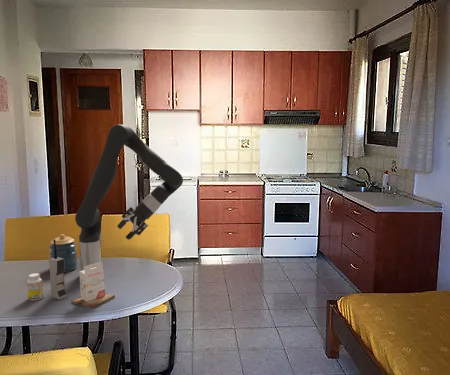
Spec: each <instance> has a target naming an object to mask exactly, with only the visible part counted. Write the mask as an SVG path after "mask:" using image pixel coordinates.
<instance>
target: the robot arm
mask: <svg viewBox="0 0 450 375" xmlns="http://www.w3.org/2000/svg"><path fill="white" fill-rule="evenodd" d="M105 141H106V142H105V145H104V148H103V150H102V154H101V156H100V158H99V161H98V163H97V166H96V167H95V170H94V172H93V175H92V177H91V180H90V182H89V186H88V188H87V190H86V193H85V196H84V198H83V200H82V202H81V204H80V206H79V208H78V210H77V211H76V214H75V216H74V217H75V218H74V219H75V220H74V221H75V223H76V225H77V226H78V227H79V228H81V231H80V234H79V236H78V238H79V239H78V240H79V241H78V242H79V256H78V267H79V271H83V270H84V266H88V265H91V264H95V263H99V262H102V261H101V260H102V258H101V257H102V256H101V240H100V238H101V237H100V236H101V232H102V224H101V221H102V220H101V219H102V218H101V213H100V210H99V209H98V208H99V205H100V204H101V201H102V200H103V198H104V197H105V196H106V195H107V193H108V192H109V190H110V189H111V186H112V185H113V183H114V180H115V178H116V175H117V172H118V170H117V167H118V158H119V155H120V153H121V151H122V149H123V147H124V146H126V147H127V148H129V149H130V150H132V151H133V152H134V153H135V154H136V155H137V156H138V157H139V158H140V160H141V161H142V163H143V164H144V165H145V166H146V167H147V168H149V170H151V171H152V172H153V173H154V174H155V175H157V176H159V177H160V178H161V179H162V180H163V182H162V183H161V184H160V185H158V186H156V187H155V188H154V189H153V190H151V191H150V193H149V194H148V195H146V196H145V197H144V199H142V200H141V201H140V202H139V204H137V205H136V207H135V208H133V207H129V208H128V209H127V210H126V211H125V212H124V213H123V214H121V217H122V220H121V221H120V222H119V223H118V224H117V228H118V229H119V230H121V229H122V228H123V227H125V225H127V223H132V230H130V231H129V233H127V234H126V236H125V239H127V240H128V241H129V240H131V239H132V238H133V237H134V236H135V235H137V236H140V235H142V233H143V232H144V231H145V230H146V228H147V227H148V226H149V225H148V224H147V223H146V220H149V219H150V218H151V217H152V216H153V215H154V214H155V213H156V212H157V211H158V209H159V208H160V207H161V206H162V204H163V203H165V201H166V200H167V199H168V198H169V197H170V196H171V195H173V194H174V193H175V192H176V191H178V189H179V188H180V187H181V186H182V185H183V182H184V178H183V176H182V174H181V173H180V172H179V171H178V170H177V169H175V168H174V167H172V166H171V165H170V164H168V162H166V161H165V159H163V158H162V157H161V156H160V155H158V154H157V153H156V152H155V151H154V150H152V149H151V148H150V147H149V146H148V145H147V144H146V143H145V142H144V141H143V140H142V139H141V137H139V135H138V134H137V133H136V132H135V131H134V130H133V128H132V127H131V126H129V125H127V124H119V123H118V124H114V125H113V126H112V127H110V128H109V131H108V134H107V137H106V140H105ZM94 267H97V266H93V267H91V268H94ZM79 271H78V272H79Z"/></svg>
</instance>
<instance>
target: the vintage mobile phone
mask: <svg viewBox="0 0 450 375" xmlns="http://www.w3.org/2000/svg"><path fill="white" fill-rule="evenodd" d="M53 239H54V255H55V257H54V258H52V259H50V258H49V260H48V261H49V264H48V265H49V278H50V291H51V292H50V294H51V299H52V298H53V299H56V300H58V301H59V300H63V299H65V298H67V297H68V296H67V295H68V294H67V292H66V288H65V286H66V285H65V272H64V258H59V257H57V252H56V242H55V238H53Z"/></svg>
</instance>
